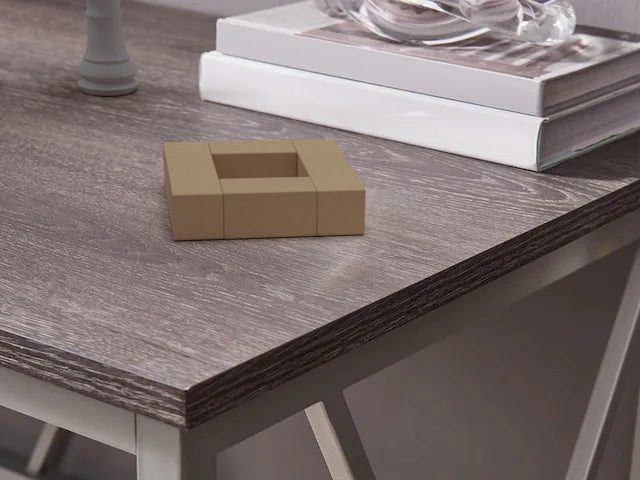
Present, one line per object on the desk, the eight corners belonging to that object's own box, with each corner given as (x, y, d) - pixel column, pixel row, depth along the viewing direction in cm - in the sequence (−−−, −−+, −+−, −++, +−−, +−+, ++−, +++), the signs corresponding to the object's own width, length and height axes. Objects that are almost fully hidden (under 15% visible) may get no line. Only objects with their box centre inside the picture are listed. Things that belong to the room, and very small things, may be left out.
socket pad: (174, 241, 67) (172, 194, 66) (164, 183, 76) (162, 141, 75) (364, 234, 69) (365, 189, 68) (333, 179, 78) (334, 138, 77)
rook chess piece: (150, 92, 96) (145, -20, 93) (97, 99, 94) (89, -15, 90) (119, 80, 99) (112, -29, 96) (66, 87, 97) (58, -24, 93)
